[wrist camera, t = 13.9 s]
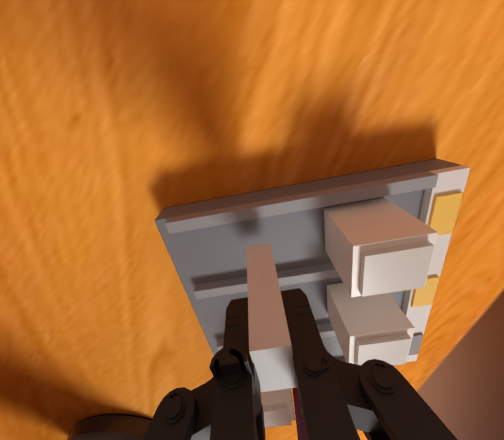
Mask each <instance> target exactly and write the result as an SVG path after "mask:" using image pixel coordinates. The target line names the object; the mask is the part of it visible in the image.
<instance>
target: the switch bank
mask: <svg viewBox="0 0 504 440" xmlns="http://www.w3.org/2000/svg"><path fill="white" fill-rule="evenodd" d="M469 171H470V167H466V166H462V165H459V164H455V163H451V162H448V161H444V160H440V159H431V160H426V161H420V162H415V163H409V164H404V165H399V166H393V167H388V168H382V169H377V170H371V171H366V172H360V173H355V174H349V175H344V176H338V177H333V178H327V179H322V180H316V181H311V182H305V183H300V184H294V185H289V186H283V187H278V188H272V189H267V190H262V191H256V192H251V193H245V194H240V195H234V196H229V197H223V198H218V199H212V200H207V201H201V202H196V203H190V204H185V205H179V206H174V207H168V208H164V209H163V210H162V212H161V213H160V214H159V215H158V217H157V218H156V219H155V223H156V225H157V227H158V229H159V232H160V234H161V236H162V239H163V241H164V243H165V245H166V248H167V250H168V252H169V254H170V257H171V259H172V261H173V263H174V266H175V268H176V270H177V273H178V275H179V277H180V279H181V282H182V284H183V286H184V288H185V291H186V293H187V295H188V298H189V300H190V302H191V304H192V307H193V309H194V311H195V313H196V316H197V318H198V320H199V322H200V325H201V327H202V329H203V332H204V334H205V336H206V338H207V341H208V343H209V345H210V347H211V350H212V352H213V354H214V355H215V354H216V353H217V352H218V351H219V350H221V349H222V348H223V342H224V330H225V320H226V319H225V318H226V308H227V306H228V305H229V303H230V301H231V300H233V299H239V298H245V297H248V285H247V247H248V246H254V245H260V244H266V243H271V248H272V253H273V257H274V262H275V267H276V272H277V277H278V282H279V287H280V291H285V290H291V289H297V288H300V289H301V290H302V291H303V292H304V293H305V294H306V295H307V298H308V301H309V304H310V307H311V310H312V313H313V316H314V319H315V321H316V324H317V327H318V330H319V333H320V336H321V339H322V342H323V344H324V346H325V348H326V350H327V351H328V352H329V353H330V354H331V355H332V356H333V357H335V358H336V359H338V360H340V361H343V362H346V360H345V357H344V355H343V352H342V350H341V347H340V345H339V342H338V339H337V337H336V334H335V332H334V329H333V327H332V324H331V322H330V319H329V317H328V314H327V285H331V284H337V283H343V282H342V280H341V278H340V276H339V274H338V273H337V271H336V269H335V267H334V265H333V264H332V262H331V260H330V258H329V256H328V255H327V253H326V251H325V229H324V208H328V207H333V206H339V205H345V204H350V203H356V202H362V201H368V200H373V199H379V198H386V199H388V200H389V201H391V202H393V203H394V204H396V205H397V206H399V207H400V208H402V209H403V210H405V211H406V212H408V213H409V214H411V215H412V216H414V217H416V218H417V219H419V220H420V221H422V222H423V223H425V224H426V225H428V226H429V227H431V228H432V229H434V230H436V231H437V232H438V236H437V240H436V244H435V248H434V252H433V256H432V260H431V265H430V269H429V273H428V277H427V281H426V285H425V287H424V288H418V289H411V290H404V291H398V292H391V293H389V294H390V296H391V297H392V298H393V300H394V301H395V302H396V304H397V305H398V306H399V307H400V309H401V310H402V311H403V313H404V314H405V315H406V317H407V318H408V319H409V321H410V322H411V323H412V324H413V326H414V327H415V330H414V334H413V338H412V342H411V346H410V350H409V354H408V358H407V360H406V362H410V361H416V359H417V356H418V352H419V349H420V345H421V342H422V338H423V335H424V331H425V327H426V324H427V320H428V317H429V313H430V310H431V306H432V302H433V299H434V295H435V292H436V288H437V285H438V281H439V278H440V274H441V270H442V267H443V263H444V260H445V256H446V253H447V249H448V246H449V242H450V238H451V235H452V231H453V228H454V224H455V221H456V217H457V214H458V210H459V206H460V203H461V199H462V196H463V192H464V189H465V185H466V182H467V178H468V174H469ZM392 366H396V365H392Z"/></svg>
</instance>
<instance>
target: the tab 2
mask: <svg viewBox="0 0 504 440" xmlns="http://www.w3.org/2000/svg"><path fill="white" fill-rule="evenodd" d="M324 229H325V251H326V253H327V255H328V256H329V258H330V260H331V262H332V264H333V265H334V267H335V269H336V271H337V273H338V274H339V276H340V278H341V280H342V282H343V283H344V285H345V287H346V289H347V291H348V292H349V294H350V296H351V297H357V296H362V297H364V296H371V295H377V294H384V293H391V292H398V291H404V290H411V289H418V288H424V287H425V285H426V281H427V277H428V273H429V269H430V265H431V260H432V256H433V252H434V248H435V244H436V240H437V236H438V232H437V231H436V230H434V229H432V228H431V227H429V226H428V225H426V224H425V223H423V222H422V221H420V220H419V219H417V218H416V217H414V216H412V215H411V214H409V213H408V212H406V211H405V210H403V209H402V208H400V207H399V206H397V205H396V204H394V203H393V202H391V201H389V200H388V199H386V198H379V199H373V200H368V201H362V202H356V203H350V204H345V205H339V206H333V207H328V208H324Z"/></svg>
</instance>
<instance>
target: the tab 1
mask: <svg viewBox="0 0 504 440" xmlns="http://www.w3.org/2000/svg"><path fill="white" fill-rule="evenodd" d="M260 390H261V389H260ZM261 403H262V407H263V411H264V425H265V428H266V427H275V426H284V425H291V421H293V420H296V419H295V413H294V407H293V400H292V394H291V388H288V389H281V390H274V391H267V392H261Z"/></svg>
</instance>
